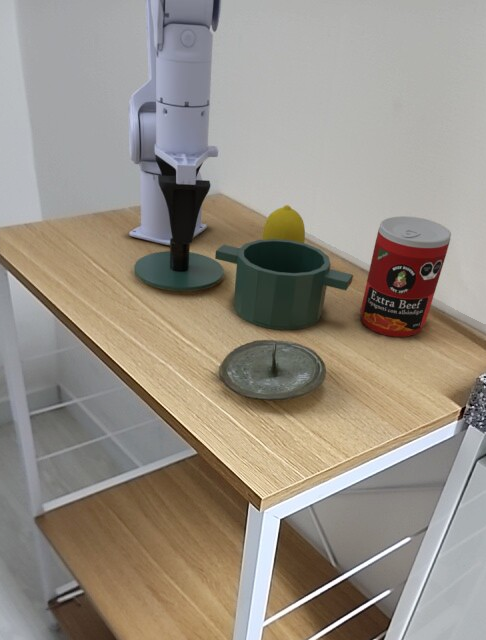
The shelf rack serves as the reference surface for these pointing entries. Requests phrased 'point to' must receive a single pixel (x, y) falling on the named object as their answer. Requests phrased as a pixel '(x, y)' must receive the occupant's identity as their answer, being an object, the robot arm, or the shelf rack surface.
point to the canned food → (403, 275)
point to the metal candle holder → (272, 370)
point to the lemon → (284, 225)
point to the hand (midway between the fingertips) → (180, 230)
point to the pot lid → (179, 269)
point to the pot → (281, 282)
